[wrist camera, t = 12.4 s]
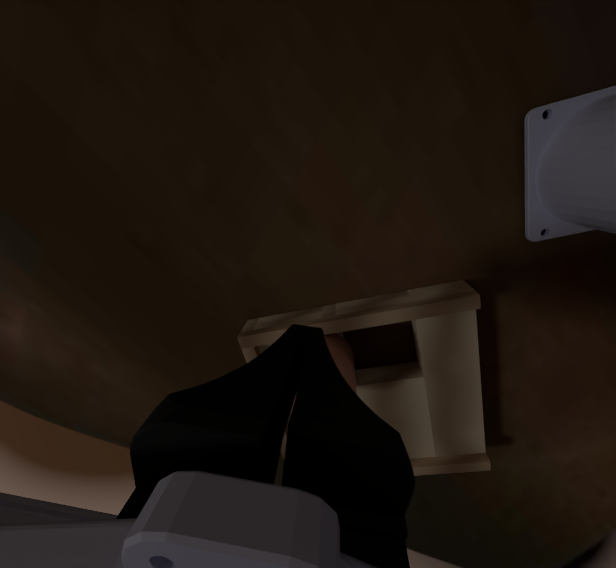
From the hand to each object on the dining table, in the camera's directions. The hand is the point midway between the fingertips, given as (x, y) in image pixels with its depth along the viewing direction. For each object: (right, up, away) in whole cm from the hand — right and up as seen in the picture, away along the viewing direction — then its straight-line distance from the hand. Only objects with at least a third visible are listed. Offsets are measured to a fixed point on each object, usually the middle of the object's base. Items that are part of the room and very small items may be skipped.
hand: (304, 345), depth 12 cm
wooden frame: (+5, -6, +13) cm, 15 cm away
